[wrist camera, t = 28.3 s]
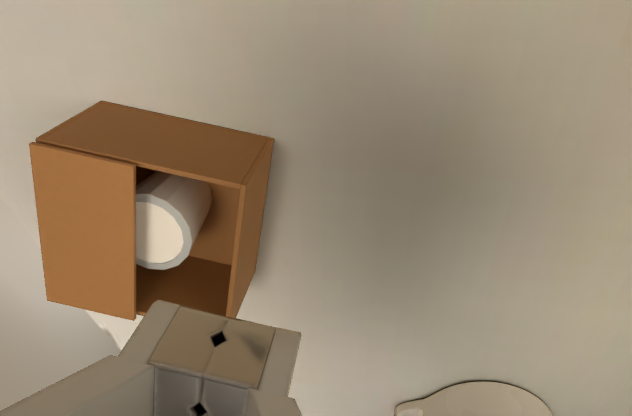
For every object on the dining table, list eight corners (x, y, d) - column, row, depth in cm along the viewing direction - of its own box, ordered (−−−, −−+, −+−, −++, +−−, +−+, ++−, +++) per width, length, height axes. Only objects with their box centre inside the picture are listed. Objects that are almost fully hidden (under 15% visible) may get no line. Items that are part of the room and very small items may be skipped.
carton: (255, 271, 49) (228, 335, 41) (106, 237, 49) (51, 294, 41) (274, 138, 42) (246, 185, 34) (101, 100, 42) (34, 138, 35)
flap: (136, 317, 41) (134, 321, 40) (49, 297, 41) (46, 300, 41) (136, 164, 34) (133, 167, 34) (32, 141, 34) (28, 143, 34)
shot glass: (232, 185, 44) (206, 226, 38) (199, 239, 47) (169, 285, 41) (162, 142, 43) (123, 177, 37) (133, 200, 46) (93, 241, 40)
